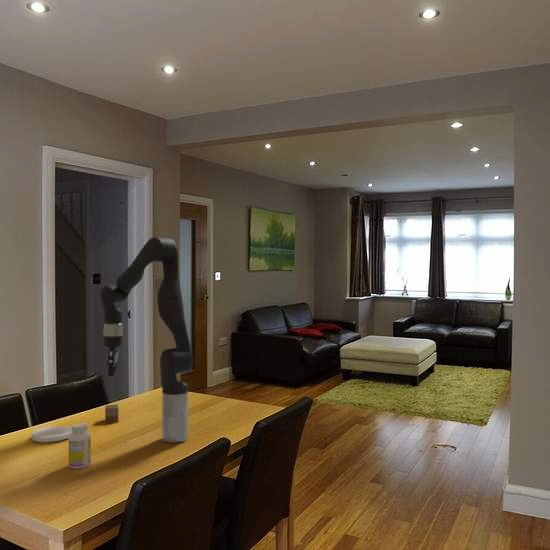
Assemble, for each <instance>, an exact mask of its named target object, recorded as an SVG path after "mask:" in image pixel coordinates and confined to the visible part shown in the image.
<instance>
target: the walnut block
mask: <svg viewBox="0 0 550 550" xmlns="http://www.w3.org/2000/svg"><path fill="white" fill-rule="evenodd" d="M104 407H105V409H104V411H105V412H104V413H105V415H104V417H105V418H104V419H105V420H104V423H105V424H111V422H114V423H119V404H106V405H105V406H104Z"/></svg>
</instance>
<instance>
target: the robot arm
mask: <svg viewBox="0 0 550 550" xmlns="http://www.w3.org/2000/svg"><path fill="white" fill-rule="evenodd" d="M153 262H159V263H161V264H162V269H163V270H162V271H163V276H162V277H163V278H162V280H161V281H162V282H161V283H160V285H159V288H158V291H157V294H156V301H157V309H158V315H159V317H160V319H161V321H163V323H164V324H165V326H166V327H167V328H168V330H169V331H170V332H171V334H172V336H173V338H174V343H175V347H173V348H171V347H170V348H167V349H166V348H165V349H164V350H162V351H161V354H160V358H159V359H160V360H159V367H160V369H159V370H160V384H161V387H162V388H161V391H162V398H161V399H162V400H161V401H162V402H161V404H162V405H161V406H162V408H161V411H162V414H161V415H162V416H161V417H162V419H161V420H162V422H161V423H162V427H161V430H162V431H161V433H162V435H161V439H162V441H163V442H166V443H168V444H172V443H182V442H183V443H184V442H186V440H188V439H189V423H188V422H189V385H188V384H187V383H186V382H184V381H180V380H178V379H177V374H180V373H187V372H190V371H191V370H192V368H193V363H194V359H193V352H192V347H191V344H190V343H191V342H190V339H189V335H188V330H187V324H186V317H185V310H184V302H183V296H182V295H183V294H182V290H181V282H180V273H179V272H180V270H179V252H178V246H177V243H176V241H175V240H174V239H172V238H169V237H160V236H154V237H151V238H149V239H148V240H147V242H146V243H145V244H144V245H143V246H142V248H141V250H140V251H139V252H138V254H137V256H136V257H135V258H134V259H133V261H132V262H131V264H130V265H129V266H128V267H127V268H126V269H125V270H124V271H123V272H122V273H120V275H119V276H118V277H117V279H116V282H115V284H112V285H111V284H110V285H109V284H108V285H104V286H103V287H102V288H101V289H100V294H99V297H100V302H101V305H102V309H103V314H104V315H103V316H104V317H103V318H104V319H103V320H104V321H103V322H104V323H103V333H102V335H103V336H102V337H103V338H102V339H103V341H102V342H103V343H102V344H103V346H104V347H105V348H109V349H108V350H107V351H106V352H107V353H106V354H107V359H106V360H107V368H108V371H107V372H108V374H107V375H108V377H114V376H115V372H117V367H118V366H117V365H118V364H117V362H118V359H119V347H122V346H123V342H124V341H123V339H124V338H123V337H124V336H123V335H124V333H123V332H124V329H123V328H124V327H123V311H122V309H121V308H118V307H116V305H115V303H122V302H124V301H125V300H126V299H127V298H128V297H129V295H130V294H131V291H132V290H133V289H134V288H135V287H136V286H137V285H138V284H139V283H140V282H141V281H142V279H143V276H144V273H145V269H146V267H147V266H149V265H150V264H152V263H153Z"/></svg>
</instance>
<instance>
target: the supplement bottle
mask: <svg viewBox="0 0 550 550" xmlns="http://www.w3.org/2000/svg"><path fill="white" fill-rule="evenodd" d="M71 428H72V433H71V434H70V435H69V438H67V439H68V440H67V441H68V443H67V444H68V468H71V469H73V470H79V469H85V468H87V467H89V466H90V465H91V464H92V450H91V449H92V440H91V439H92V435H91V433H90V432H89V431H87V430H88V424H87V423H81V422H80V423H75V424H73V425H71Z"/></svg>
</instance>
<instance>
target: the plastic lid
mask: <svg viewBox="0 0 550 550" xmlns="http://www.w3.org/2000/svg"><path fill="white" fill-rule="evenodd" d="M71 433H72V426H67V425H57V426H56V425H53V426H46V427H42V428H38V429H36V430H33V431H32V432H31V436H30V437H31V438H30V439H31V440H32V441H34V442H39V443H50V442H57V441H58V442H59V441H62V440H66V439H68V438H69V435H70V434H71Z"/></svg>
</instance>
